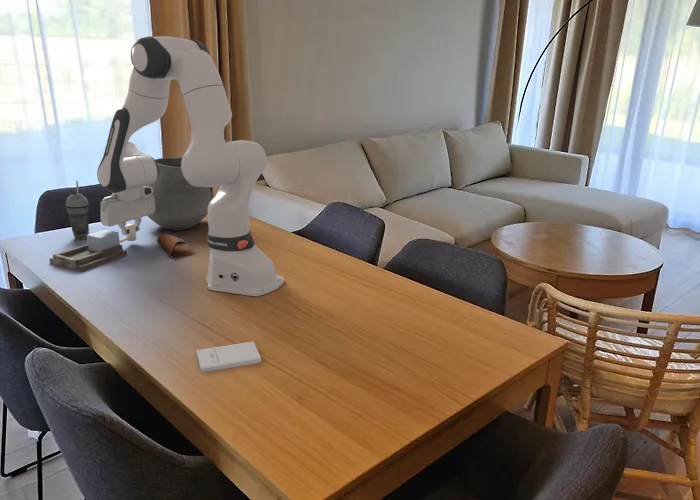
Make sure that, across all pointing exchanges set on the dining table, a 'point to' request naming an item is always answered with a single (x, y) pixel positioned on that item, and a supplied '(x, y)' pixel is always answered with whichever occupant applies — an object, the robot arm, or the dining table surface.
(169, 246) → the sunglasses case
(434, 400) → the dining table surface
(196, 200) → the ceramic pot
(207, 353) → the external hard drive
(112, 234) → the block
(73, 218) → the beverage cup
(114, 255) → the tray
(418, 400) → the dining table surface
